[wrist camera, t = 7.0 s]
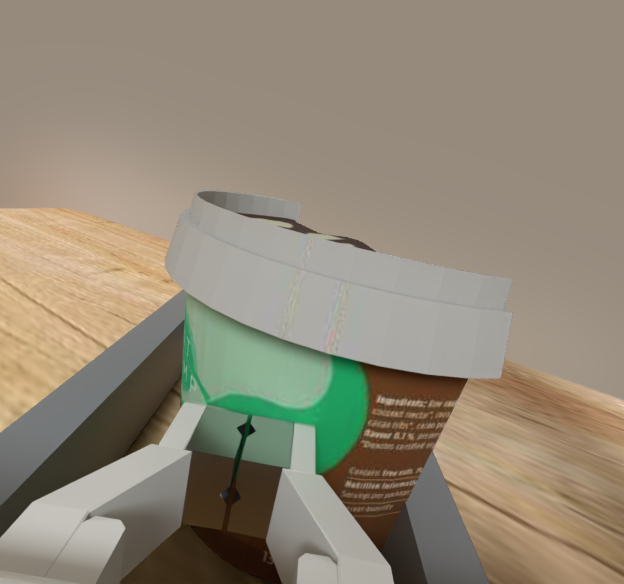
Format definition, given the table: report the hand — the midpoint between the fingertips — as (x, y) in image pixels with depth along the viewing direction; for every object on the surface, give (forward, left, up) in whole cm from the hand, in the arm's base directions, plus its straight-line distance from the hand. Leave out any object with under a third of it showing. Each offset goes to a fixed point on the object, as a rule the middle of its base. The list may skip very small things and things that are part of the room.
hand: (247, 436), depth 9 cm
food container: (0, -4, -5) cm, 6 cm away
